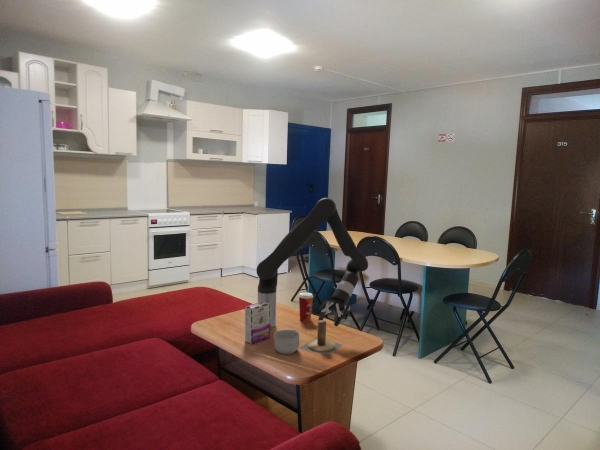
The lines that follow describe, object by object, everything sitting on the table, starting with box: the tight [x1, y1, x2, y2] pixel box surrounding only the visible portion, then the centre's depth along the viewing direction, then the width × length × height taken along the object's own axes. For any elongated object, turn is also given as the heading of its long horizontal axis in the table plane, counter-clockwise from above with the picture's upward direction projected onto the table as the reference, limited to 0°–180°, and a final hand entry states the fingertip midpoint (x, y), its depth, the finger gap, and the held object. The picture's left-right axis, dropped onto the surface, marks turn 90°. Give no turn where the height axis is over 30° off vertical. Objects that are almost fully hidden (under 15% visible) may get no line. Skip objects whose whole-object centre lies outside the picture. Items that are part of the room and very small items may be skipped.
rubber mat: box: [299, 337, 343, 356], centre depth 174 cm, size 14×14×1 cm
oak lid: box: [307, 319, 336, 352], centre depth 174 cm, size 12×12×11 cm
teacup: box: [273, 328, 300, 355], centre depth 170 cm, size 14×11×8 cm
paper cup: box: [298, 292, 314, 323], centre depth 209 cm, size 8×8×14 cm
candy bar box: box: [244, 302, 271, 345], centre depth 180 cm, size 11×5×16 cm, turn 137°
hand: (327, 323), depth 176 cm, fingers open, 8 cm apart
